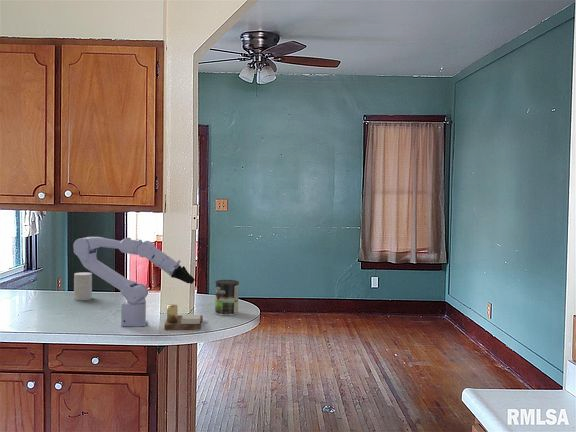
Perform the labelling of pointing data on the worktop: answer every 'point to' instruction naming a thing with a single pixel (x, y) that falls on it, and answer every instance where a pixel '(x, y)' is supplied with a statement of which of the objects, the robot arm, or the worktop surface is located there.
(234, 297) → the coffee can
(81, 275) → the cup
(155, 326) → the worktop surface
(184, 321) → the cover
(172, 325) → the walnut board
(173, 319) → the brass pin
